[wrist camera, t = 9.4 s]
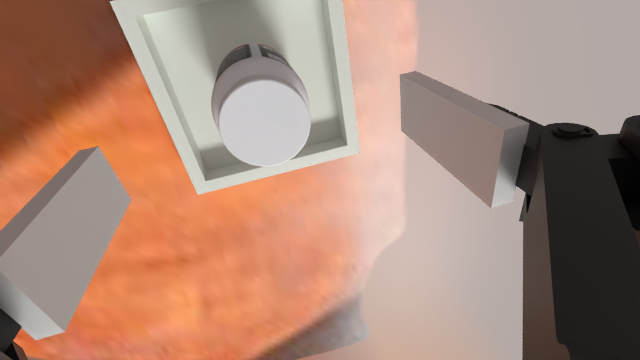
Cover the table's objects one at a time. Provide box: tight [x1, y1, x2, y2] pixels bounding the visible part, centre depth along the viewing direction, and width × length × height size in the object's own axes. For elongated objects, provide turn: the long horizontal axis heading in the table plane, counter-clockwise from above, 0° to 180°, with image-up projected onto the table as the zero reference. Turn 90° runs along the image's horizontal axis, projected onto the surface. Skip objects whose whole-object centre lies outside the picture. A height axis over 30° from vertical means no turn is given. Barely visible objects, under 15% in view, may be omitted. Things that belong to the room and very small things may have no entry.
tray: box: [110, 0, 360, 195], centre depth 24 cm, size 14×14×2 cm
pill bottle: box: [211, 44, 311, 167], centre depth 20 cm, size 6×6×10 cm
